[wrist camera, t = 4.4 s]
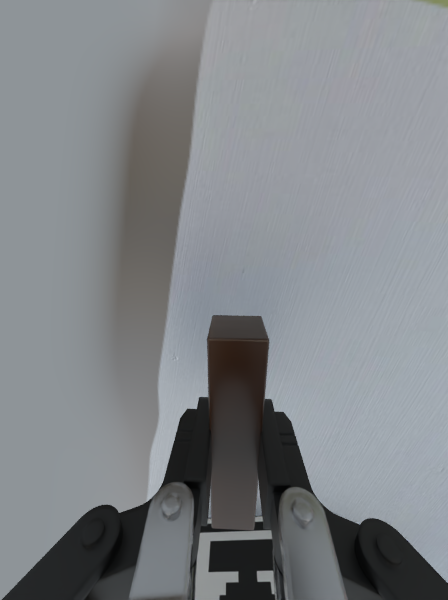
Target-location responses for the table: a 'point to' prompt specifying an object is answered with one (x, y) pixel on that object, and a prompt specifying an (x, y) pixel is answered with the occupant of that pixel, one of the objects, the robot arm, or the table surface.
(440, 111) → the table surface
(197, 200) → the table surface
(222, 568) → the block
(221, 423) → the stick
